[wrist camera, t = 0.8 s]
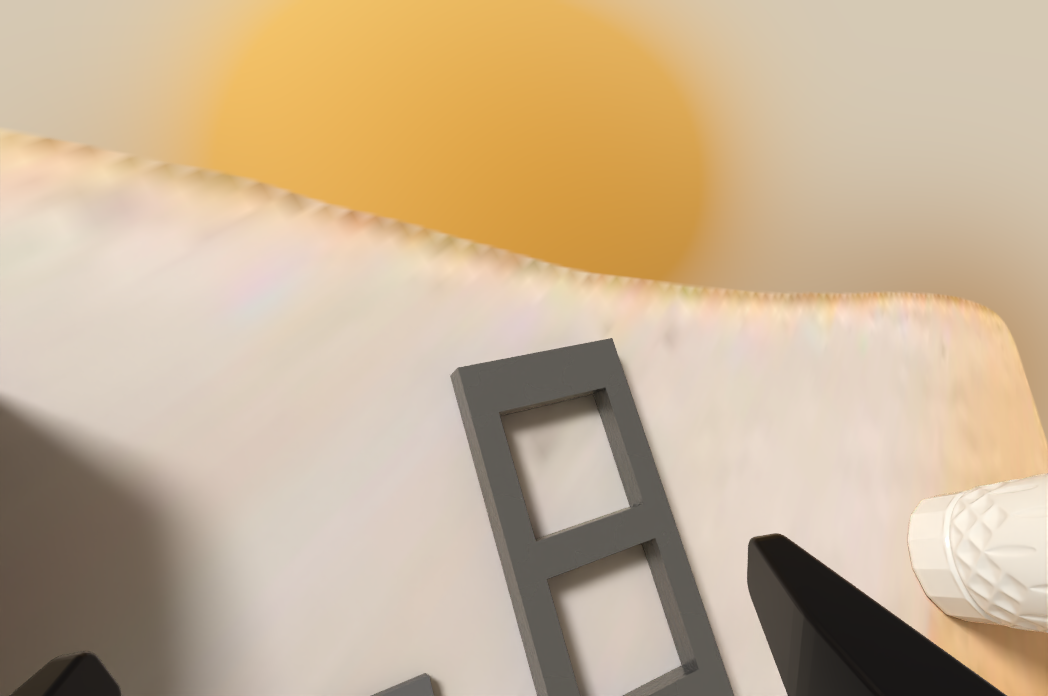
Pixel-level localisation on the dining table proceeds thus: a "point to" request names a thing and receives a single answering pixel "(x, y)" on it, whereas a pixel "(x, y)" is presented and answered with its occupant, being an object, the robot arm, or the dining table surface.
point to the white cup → (986, 552)
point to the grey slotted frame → (547, 378)
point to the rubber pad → (410, 688)
